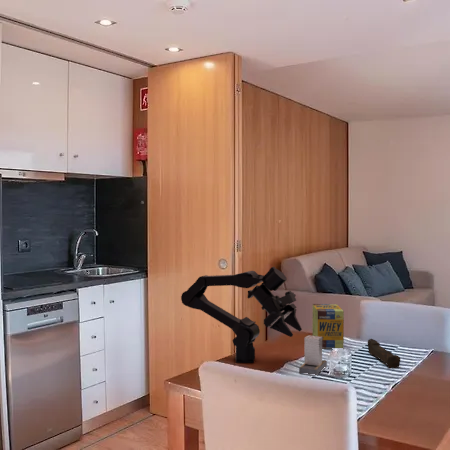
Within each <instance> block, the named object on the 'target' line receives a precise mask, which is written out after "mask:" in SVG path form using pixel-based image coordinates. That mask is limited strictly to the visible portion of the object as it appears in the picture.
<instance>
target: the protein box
mask: <svg viewBox="0 0 450 450" xmlns="http://www.w3.org/2000/svg"><path fill="white" fill-rule="evenodd" d="M344 312H345V311H344V310H343V309H342V308H341V307H340V306H339V305H338V304H335V303H334V304H332V303H329V304H327V303H312V326H311V327H312V329H311V330H312V331H311V332H312V335H311V336H319V337H322V349H332V348H343V349H344V344H345V343H344V340H345V339H344V338H345V336H344V324H345V323H344V321H345V320H344V318H345V317H344V316H345V314H344Z"/></svg>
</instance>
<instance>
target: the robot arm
mask: <svg viewBox="0 0 450 450" xmlns="http://www.w3.org/2000/svg"><path fill="white" fill-rule="evenodd" d="M287 279H288V278H287V276H286V275H285V273H284V272H282V271H281V270H279V269H277V268H276V267H275V266H272V267H270V268H269V270H268V271H267V272H266V273H265V274H264V275H263V274H259V273H258V272H257V271H255V270H248V271H244V272H241V273H237V274H236V273H235V274H223V275H222V274H221V275H219V274H218V275H217V274H216V275H207V274H205V275H202V276H199V277H198V278H196V281H195V282H194V283H193V284H192V285H190V287H188V288H187V290H186V291H183V292H182V293H181V296H180V301H181V303H182V305H184V306H186V307H188V308H190V309H193V310H194V309H195V310H199V311H202V312H203V313H205V314H207V315H208V316H210V317H211V318H213V319H214V320H216V321H217V322H219V323H221V324H223V325H225V326H227V328H230V329H231V331H232V332H233V334H235V337H234V338H233V339H232V344H233V346H235V358H234V359H235V363H237V364H238V363H239V364H241V363H243V364H247V363H249V364H250V363H252V364H253V363H255V359H256V348H255V346H254V343H255V341H256V338H258V337H259V336H260V331H261V330H260V327H259V325H258V324H256V321H254V320H251V318H249V317H248V316H245V317H243V318H238V316H235V315H233V314H232V313H230V312H228V311H226V309H224V308H222V307H220V306H218V305H217V304H215V303H213V302H212V301H210V300H208V298H207V296H206V295H205V293H206V291H207V289H208V287H219V286H220V287H222V286H232V287H233V286H234V287H238V288H241V289H249V290H247V299H251V298H253V297H254V298H255V299H256V301H257V302H258V304H260V305H261V306H262V307H260V308H261V310H263V311H264V310H265V312H266V313H268V315H267V316H266V317H265V318H264V319H263V325H264V326H265V327H266V328H269V329H272V330H275V331H277V332H279V333H282V334H284V335H286V336H287V337H289V338H292V337H293V336H294V334H293V332H292V331H291V329H290V328H289V326H290V327H292V328H293V329H295V330H296V331H298V332H301V331H302V330H303V328H302V326H301V325H300V322H299V320H298V318H297V315H296V313H297V309H296V308H297V306H296V305H295V304H294V302H296V301H297V298H296V296H297V295H296V294H295V292H293V291H291V290H289V291H286V292H285V293H284V295H283V296H281V297H280V296H279V295H274V293H273V292H277V290H278V289H279V288H280V287H281V286H283V284H284V283H285V282H287ZM260 283H261V284H260ZM258 284H260V285H258ZM250 288H252V289H250ZM272 291H273V292H272ZM288 325H289V326H288Z"/></svg>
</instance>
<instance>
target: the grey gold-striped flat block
mask: <svg viewBox="0 0 450 450" xmlns="http://www.w3.org/2000/svg"><path fill="white" fill-rule="evenodd" d="M326 366H327V367H328V360H326V359H324V360H323V359H322V363H321V364H320V365H319V366H316V365H309V364H305V362H304V363H303V364H301V365H300V367H299V373H308V374H315V375H317V374H318V373H319V372H320V371H321V370H322V369H323V368H324V367H326ZM327 367H326V368H327ZM299 373H298V374H299ZM319 374H320V373H319ZM319 374H318V375H319ZM318 375H317V376H318Z"/></svg>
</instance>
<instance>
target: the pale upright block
mask: <svg viewBox="0 0 450 450" xmlns="http://www.w3.org/2000/svg"><path fill="white" fill-rule="evenodd" d="M322 360H323V350H322V337H319V336H312V335H306V336H304V363H305V364H309V365H316V366H319V365H320V364H321V363H322Z"/></svg>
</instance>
